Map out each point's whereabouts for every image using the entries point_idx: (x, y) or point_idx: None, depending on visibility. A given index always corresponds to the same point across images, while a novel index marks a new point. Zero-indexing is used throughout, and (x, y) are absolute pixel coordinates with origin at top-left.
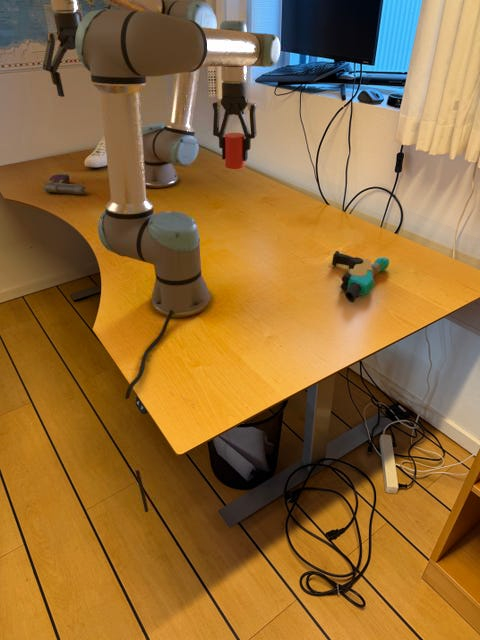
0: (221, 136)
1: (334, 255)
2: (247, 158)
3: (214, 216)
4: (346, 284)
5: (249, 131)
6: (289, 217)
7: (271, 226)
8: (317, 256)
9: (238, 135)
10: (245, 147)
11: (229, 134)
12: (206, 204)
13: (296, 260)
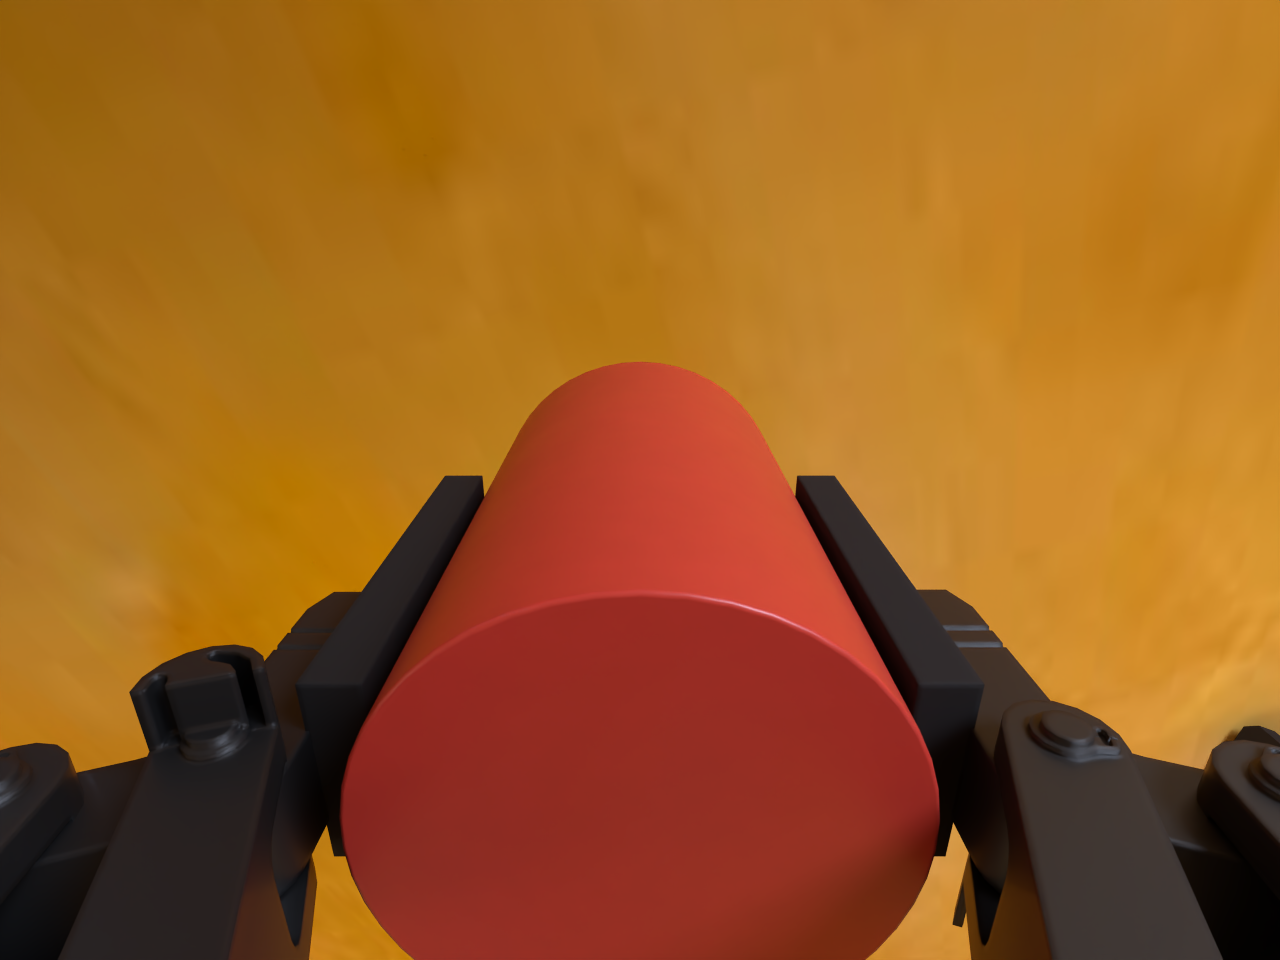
0: (295, 895)
1: None
2: (835, 485)
3: (476, 332)
4: None
5: (1175, 880)
6: (1035, 214)
7: (905, 399)
8: (1161, 680)
9: (757, 856)
10: None
11: (460, 818)
12: (312, 106)
13: None
